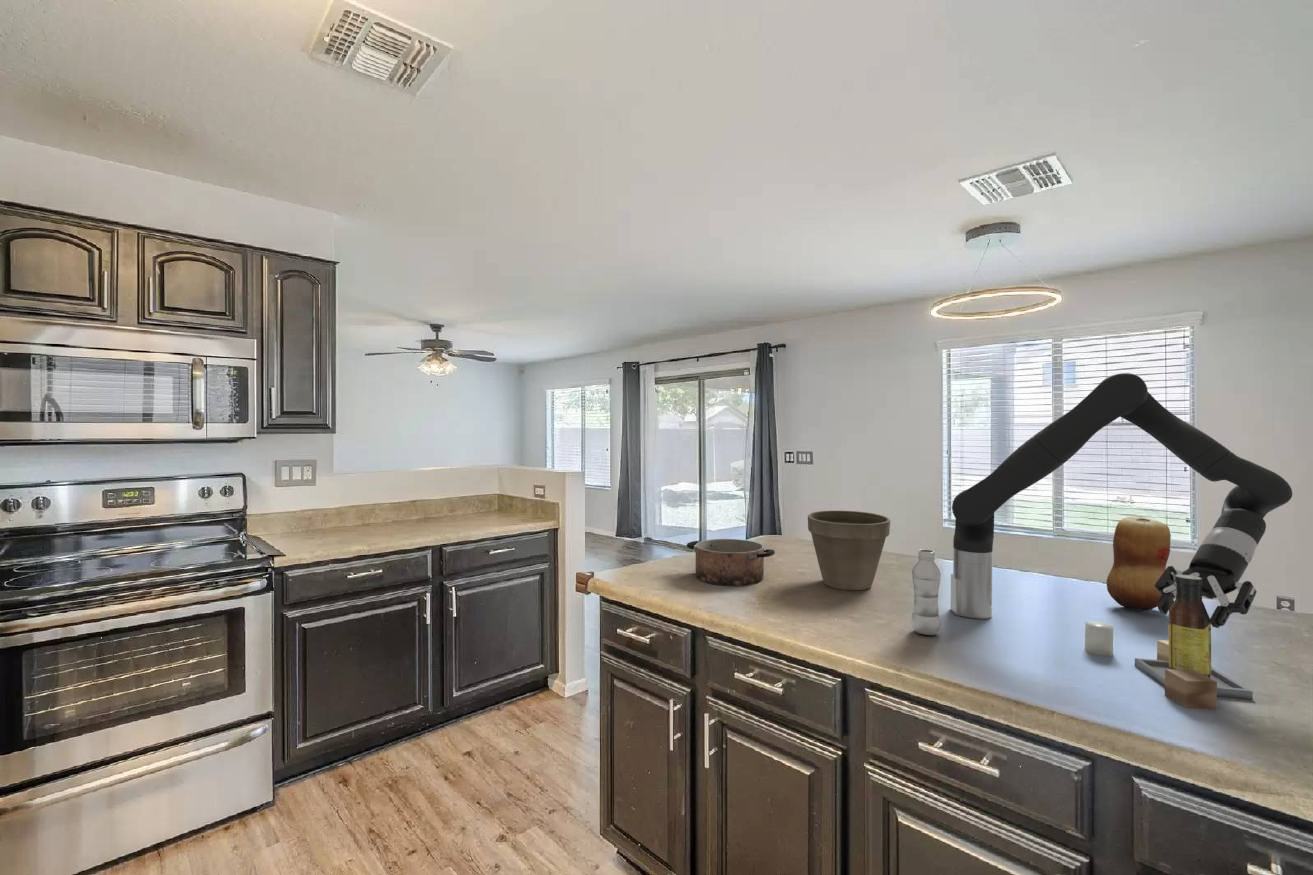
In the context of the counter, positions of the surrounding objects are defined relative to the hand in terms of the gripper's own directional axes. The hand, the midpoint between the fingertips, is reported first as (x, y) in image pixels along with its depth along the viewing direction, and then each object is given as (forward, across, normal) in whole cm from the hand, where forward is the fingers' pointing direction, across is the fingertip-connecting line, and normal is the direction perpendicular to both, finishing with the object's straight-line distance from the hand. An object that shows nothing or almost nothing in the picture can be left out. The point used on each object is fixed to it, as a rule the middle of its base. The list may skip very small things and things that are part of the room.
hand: (1186, 618), depth 115 cm
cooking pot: (+43, -102, -24) cm, 113 cm away
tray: (+8, 0, +10) cm, 13 cm away
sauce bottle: (+8, 0, +10) cm, 12 cm away
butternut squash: (-20, -33, +39) cm, 55 cm away
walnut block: (+15, +5, +3) cm, 16 cm away
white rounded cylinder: (+9, -16, +9) cm, 21 cm away
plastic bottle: (+28, -38, -10) cm, 49 cm away
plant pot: (+21, -81, -3) cm, 83 cm away
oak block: (+3, -6, +16) cm, 17 cm away
